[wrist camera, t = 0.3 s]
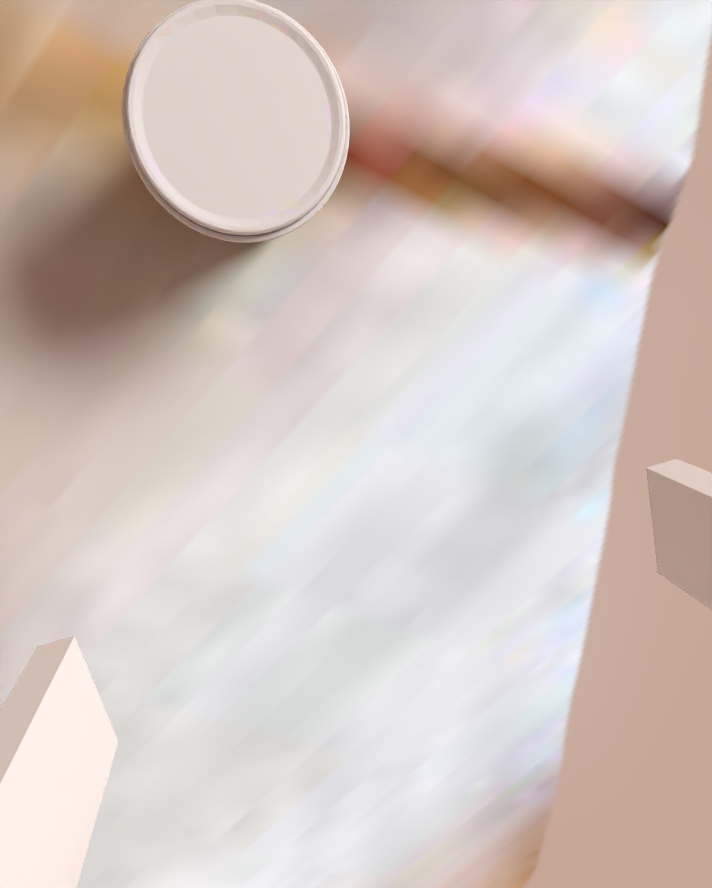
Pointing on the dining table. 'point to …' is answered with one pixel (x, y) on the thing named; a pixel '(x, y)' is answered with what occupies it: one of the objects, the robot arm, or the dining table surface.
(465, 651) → the dining table surface
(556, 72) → the dining table surface
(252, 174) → the coffee cup
